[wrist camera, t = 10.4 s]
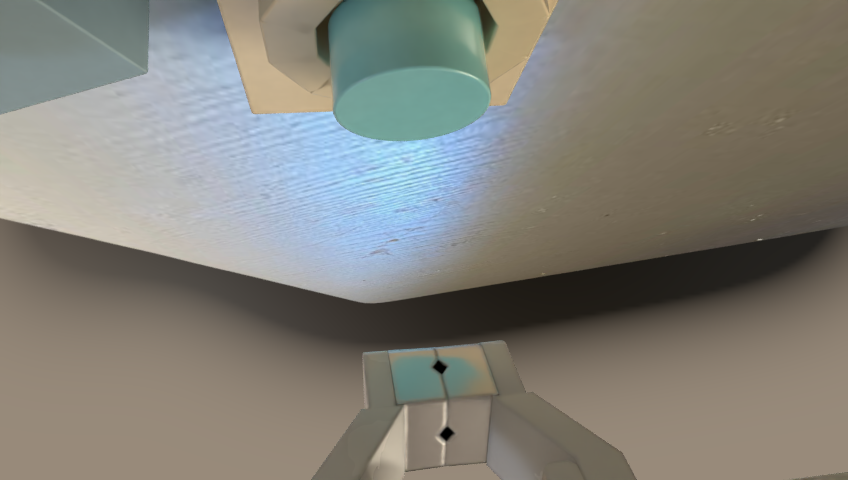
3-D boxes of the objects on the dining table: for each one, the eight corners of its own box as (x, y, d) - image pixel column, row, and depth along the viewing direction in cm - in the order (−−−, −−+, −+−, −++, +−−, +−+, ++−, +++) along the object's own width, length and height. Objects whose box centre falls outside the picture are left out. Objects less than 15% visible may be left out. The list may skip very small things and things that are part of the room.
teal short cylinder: (325, -23, 13) (330, 70, 13) (495, -25, 14) (508, 66, 13) (329, 68, 17) (334, 145, 16) (465, 64, 17) (474, 139, 17)
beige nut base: (166, -285, 12) (164, -67, 11) (610, -265, 14) (655, -66, 12) (249, 38, 23) (253, 169, 22) (495, 33, 24) (513, 157, 23)
